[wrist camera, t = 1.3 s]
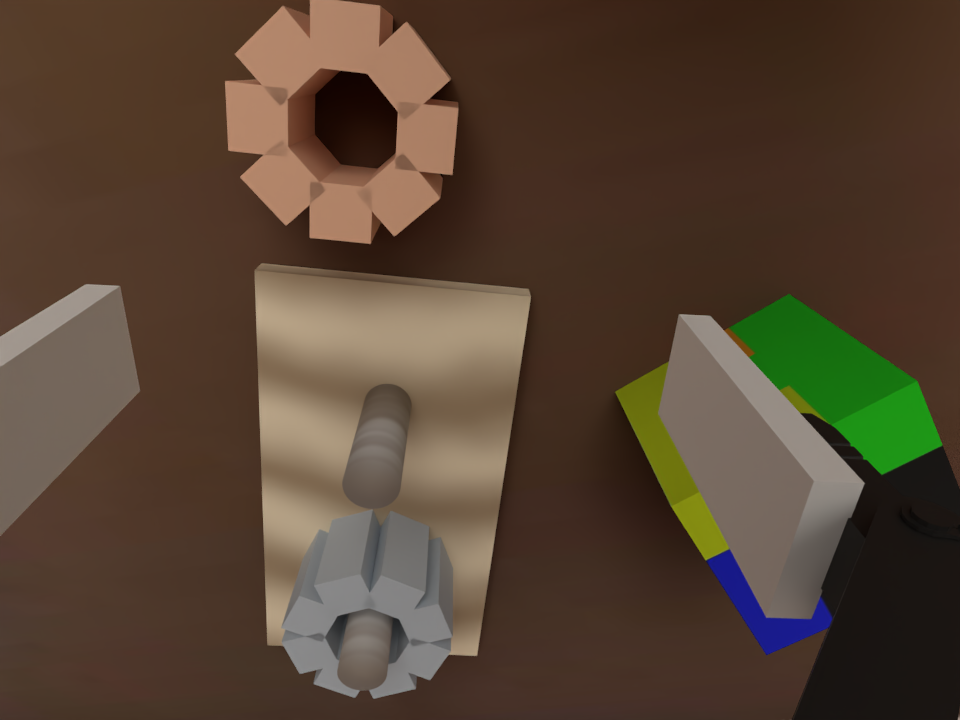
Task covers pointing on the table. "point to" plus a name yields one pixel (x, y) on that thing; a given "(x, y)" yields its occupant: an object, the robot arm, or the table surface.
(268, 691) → the table surface
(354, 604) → the gear
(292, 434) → the gear board
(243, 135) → the loose gear
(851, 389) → the puzzle toy
